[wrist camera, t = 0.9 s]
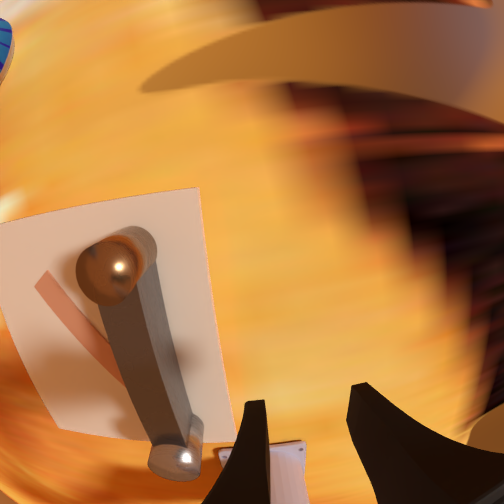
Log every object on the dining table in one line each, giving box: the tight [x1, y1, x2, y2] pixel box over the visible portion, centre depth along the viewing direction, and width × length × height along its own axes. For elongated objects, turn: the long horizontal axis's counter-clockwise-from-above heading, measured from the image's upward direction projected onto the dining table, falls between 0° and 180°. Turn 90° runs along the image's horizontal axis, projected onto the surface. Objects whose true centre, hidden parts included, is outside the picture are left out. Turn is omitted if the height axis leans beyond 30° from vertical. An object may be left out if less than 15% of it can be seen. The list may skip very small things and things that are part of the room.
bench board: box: [0, 187, 237, 443], centre depth 18 cm, size 20×18×1 cm
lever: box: [75, 226, 204, 481], centre depth 16 cm, size 17×4×5 cm, turn 5°
